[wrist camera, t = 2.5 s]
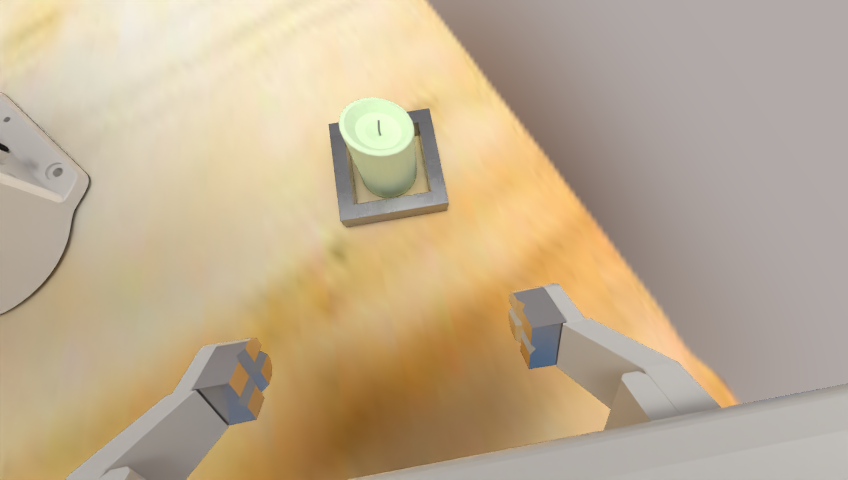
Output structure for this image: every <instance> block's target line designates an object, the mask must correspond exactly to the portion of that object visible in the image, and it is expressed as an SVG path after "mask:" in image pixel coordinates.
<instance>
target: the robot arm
mask: <svg viewBox="0 0 848 480" xmlns="http://www.w3.org/2000/svg"><path fill="white" fill-rule="evenodd" d="M88 183H89V178H88V175H87V174H86V173H85V172H84V171H83V170H82V169H81V168H80V167H79V166H78V165H77V164H76V163H75V162H74V161H73V160H72V159H71V158H70V157H69V156H68V155H67V154H66V153H65V152H64V151H63V150H62V149H61V148H60V147H59V146H57V145H56V144H55V143H54V142H53V141H52V140H51V139H50V138H49V137H48V136H47V135H46V134H45V133H44V132H43V131H42V130H41V129H40V128H39V127H38V126H37V125H36V124H35V123H34V122H33V121H32V120H31V119H30V118H29V117H28V116H27V115H26V114H25V113H24V112H22V111H21V110H20V109H19V108H18V107H17V106H16V105H15V104H14V103H13V102H12V101H11V100H10V99H9V98H8V97H7V96H6V95H5V94H3V93H2V92H0V314H2V313H4V312H6V311H8V310H10V309H11V308H13V307H15V306H16V305H18V304H19V303H21V302H22V301H23V300H25V299H26V298H27V297H28V296H30V295H31V294H32V293H33V292H34V291H35V290H36V289H37V288H38V287H39V286H40V285H41V284H42V283H43V282H44V281H45V280H46V278H47V277H48V276H49V275H50V273H51V272H52V271H53V269H54V268H55V266H56V264H57V263H58V261H59V259H60V257H61V255H62V253H63V251H64V249H65V246H66V244H67V240H68V237H69V233H70V227H71V221H72V217H73V213H74V210H75V208H76V206H77V205H78V203H79V201H80V200H81V198H82V197H83V195H84V193H85V191H86V189H87V187H88ZM509 302H510V304H511V306H512V307H511V309H510V310H509V322H510V327H511V330H512V333H513V335H514V338H515V340H517V341H518V342H520V343H521V353H522V355H523V357H524V359H525V362H526V364H527V366H528V368H529V369H533V368H539V367H545V366H552V365H556V366H557V367H558V368H559V369H561V370H562V371H563V372H564V373H566V374H567V375H568V376H569V377H571V378H572V379H573V380H574V381H576V382H577V383H578V384H580V385H581V386H582V387H583V388H585V389H586V390H587V391H588V392H590V393H591V394H592V395H593V396H595V397H596V398H597V399H598V400H600V401H601V402H602V403H604V404H605V405H606V406H607V407H609V408H610V409H611V410H610V413H609V416H608V419H607V422H606V425H605V428H604V430H603V431H597V432H592V433H587V434H582V435H577V436H571V437H566V438H561V439H556V440H551V441H545V442H540V443H535V444H530V445H525V446H519V447H514V448H509V449H504V450H498V451H493V452H488V453H483V454H477V455H472V456H467V457H462V458H456V459H451V460H446V461H441V462H435V463H430V464H425V465H420V466H414V467H409V468H404V469H399V470H393V471H388V472H383V473H378V474H373V475H367V476H362V477H357V478H352V479H347V480H848V383H847V384H842V385H837V386H832V387H827V388H822V389H816V390H812V391H806V392H801V393H795V394H790V395H785V396H780V397H775V398H769V399H764V400H759V401H754V402H748V403H743V404H738V405H733V406H728V407H722V408H721V407H720V406H719V405H718V404H717V402H716V401H715V400H714V399H713V398H712V397H711V396H710V395H709V394H708V393H707V392H706V391H705V390H704V389H703V388H702V387H701V386H700V384H699V383H698V382H697V381H696V380H695V379H694V378H693V377H692V376H691V375H690V374H689V373H688V372H687V371H686V370H685V369H684V368H683V367H682V365H681V364H680V363H679V362H677V361H675V360H673V359H671V358H669V357H667V356H665V355H663V354H661V353H659V352H657V351H655V350H653V349H651V348H649V347H647V346H645V345H643V344H641V343H639V342H637V341H635V340H633V339H631V338H629V337H627V336H625V335H623V334H621V333H619V332H617V331H615V330H613V329H611V328H609V327H607V326H605V325H603V324H601V323H599V322H597V321H595V320H593V319H591V318H590V319H585V318H584V316H583V315H582V314H581V312H580V311H579V310H578V309H577V307H576V306H575V305H574V303H573V302H572V301H571V299H570V298H569V297H568V295H567V294H566V293H565V292H564V290H563V289H562V288H561V286H560V285H559V284H557V283H553V284H548V285H542V286H538V287H532V288H527V289H522V290H516V291H511V292H510V294H509ZM260 348H261V343H260V342H259V341H258V339H257V338H248V339H241V340H235V341H228V342H222V343H217V344H211V345H205V346H204V347H202V348H201V349H200V350H199V351H198V353H197V355H196V356H195V358H194V359H193V361H192V363H191V364H190V366H189V367H188V369H187V371H186V372H185V374H184V376H183V377H182V379H181V380H180V382H179V384H178V385H177V387H176V388H175V390H174V392H173V393H172V394H171V395H166V396H165V397H164V398H163V399H161V400H160V401H159V402H158V403H157V404H155V405H154V406H153V407H152V408H150V409H149V410H148V411H147V412H145V413H144V414H143V415H142V416H141V417H139V418H138V419H137V420H136V421H134V422H133V423H132V424H131V425H130V426H128V427H127V428H126V429H125V430H123V431H122V432H121V433H120V434H118V435H117V436H116V437H115V438H114V439H112V440H111V441H110V442H109V443H107V444H106V445H105V446H104V447H103V448H101V449H100V450H99V451H98V452H96V453H95V454H94V455H93V456H92V457H90V458H89V459H88V460H87V461H85V462H84V463H83V464H82V465H80V466H79V467H78V468H77V469H76V470H74V471H73V472H72V473H71V474H69V475H68V476H67V478H66V479H65V480H186V478H187V477H188V476H189V475H190V474H191V472H192V471H193V470H194V469H195V467H196V466H197V465H198V464H199V463H200V461H201V460H202V459H203V458H204V456H205V455H206V454H207V453H208V452H209V450H210V449H211V448H212V447H213V446H214V444H215V443H216V442H217V441H218V439H219V438H220V437H221V436H222V435H223V433H224V432H225V431H226V430H227V428H228V425H233V424H238V423H242V422H247V421H252V420H256V419H257V418H258V415H259V412H260V409H261V406H262V403H263V400H264V396H263V394H262V391H263V390H264V389H265V388H266V387H267V386H268V385H269V383H270V380H271V376H272V364H271V360H270V358H269V356H268V355H267V354H266V353H264V352H262V351H260Z"/></svg>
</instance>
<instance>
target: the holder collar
mask: <svg viewBox="0 0 848 480" xmlns="http://www.w3.org/2000/svg"><path fill="white" fill-rule="evenodd" d="M407 113H408V114H409V116H410V118H411V120H412V122H413V126H414V134H415V135H419V140H420V145H421V150H422V155H423V160H424V166H425V171H426V176H427V181H428V186H429V192H426V193H420V194H414V195H408V196H402V197H396V198H390V199H384V200H378V201H372V202H366V203H360V204H357V200H356V192H355V185H354V178H353V170H352V163H351V155H350V152H349V149H348V147H347V145H346V143H345V141H344V139H343V137H342V135H341V132H340V129H339V123H333V124H329V131H330V139H331V147H332V156H333V164H334V172H335V180H336V188H337V197H338V205H339V213H340V221H341V222H342V223H343V224H344V225H345V226H346V227H351V226H357V225H363V224H369V223H374V222H380V221H386V220H392V219H398V218H404V217H410V216H416V215H422V214H428V213H433V212H439V211H445V210H447V207H448V198H447V193H446V188H445V183H444V178H443V174H442V169H441V164H440V159H439V154H438V149H437V144H436V139H435V135H434V130H433V125H432V120H431V115H430V110H429V109H422V110H416V111H410V112H407Z"/></svg>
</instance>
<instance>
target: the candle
mask: <svg viewBox="0 0 848 480" xmlns="http://www.w3.org/2000/svg"><path fill="white" fill-rule="evenodd" d="M339 129H340V132H341V135H342V137H343V139H344V141H345V143H346V145H347V147H348V149H349V152H350V154H351V156H352V158H353V160H354V162H355V164H356V166H357V169H358V171H359V173H360V175H361V177H362V179H363V181H364V183H365V185H366V187H367V188H368V189H369V190H370V191H371V192H372V193H374V194H376V195H378V196H381V197H390V198H391V197H396V196H399V195H401V194H403V193H405V192H406V191H407V190H408V189H410V187H411V186H412V185H413V183H414V181H415V178H416V152H415V134H414V126H413V122H412V120H411V118H410V116H409V114H408V113H407V112H406V111H405V110H404V109H403V108H401V107H400V106H398V105H397V104H395V103H393V102H391V101H388V100H386V99H381V98H363V99H358V100H356V101H354V102H352V103H350V104H349V105H348V106H347V107H345V108H344V110H343V111H342V113H341V115H340V118H339Z"/></svg>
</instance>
